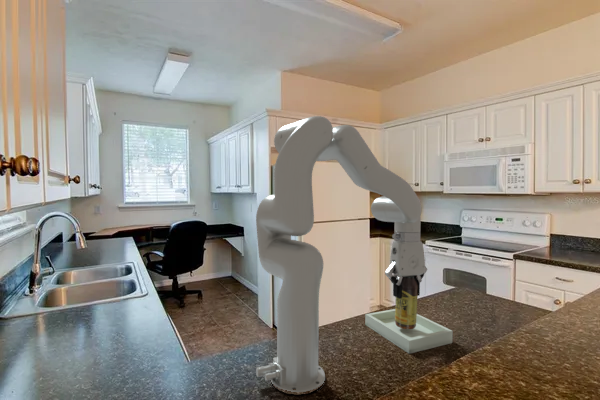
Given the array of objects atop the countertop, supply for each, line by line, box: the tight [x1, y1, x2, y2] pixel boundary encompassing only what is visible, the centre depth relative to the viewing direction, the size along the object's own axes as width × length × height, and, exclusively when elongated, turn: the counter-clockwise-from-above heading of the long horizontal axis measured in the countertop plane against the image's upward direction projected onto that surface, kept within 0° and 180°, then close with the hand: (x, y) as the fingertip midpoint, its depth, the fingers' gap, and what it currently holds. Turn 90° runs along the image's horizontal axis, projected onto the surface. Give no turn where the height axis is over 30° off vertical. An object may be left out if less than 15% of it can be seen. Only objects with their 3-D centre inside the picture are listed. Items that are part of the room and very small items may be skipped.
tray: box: [364, 308, 454, 355], centre depth 95 cm, size 16×20×4 cm
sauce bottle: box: [394, 276, 418, 329], centre depth 95 cm, size 7×6×20 cm
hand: (406, 295), depth 95 cm, fingers closed on sauce bottle, 6 cm apart
